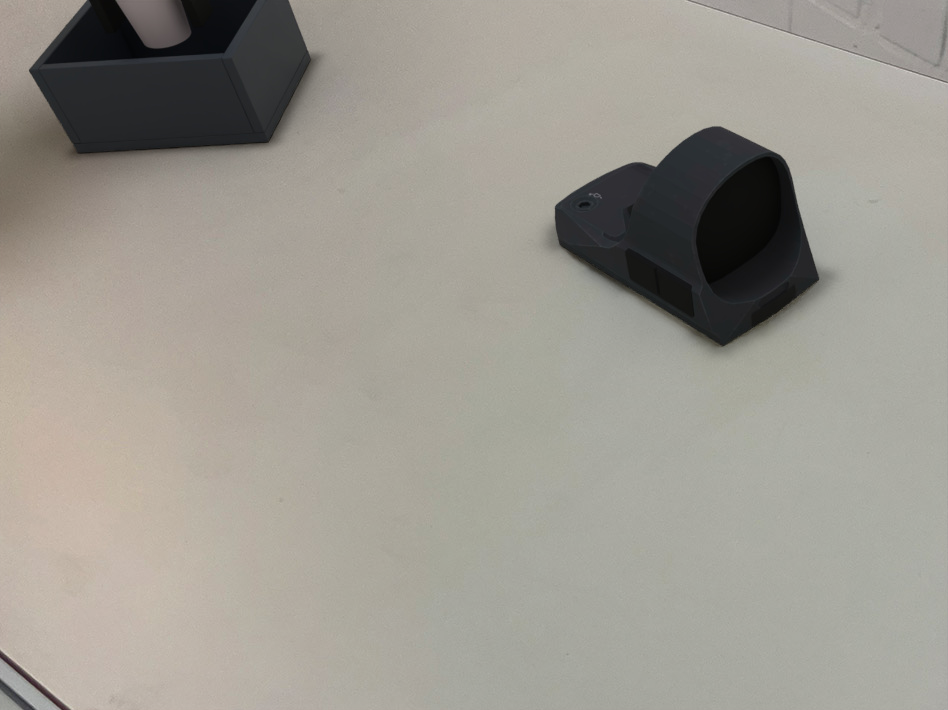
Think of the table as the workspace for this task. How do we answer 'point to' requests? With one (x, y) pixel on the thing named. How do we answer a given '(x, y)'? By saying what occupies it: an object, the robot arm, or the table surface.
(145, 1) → the smoothie
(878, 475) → the table surface
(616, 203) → the sight
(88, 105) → the bin
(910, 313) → the table surface
